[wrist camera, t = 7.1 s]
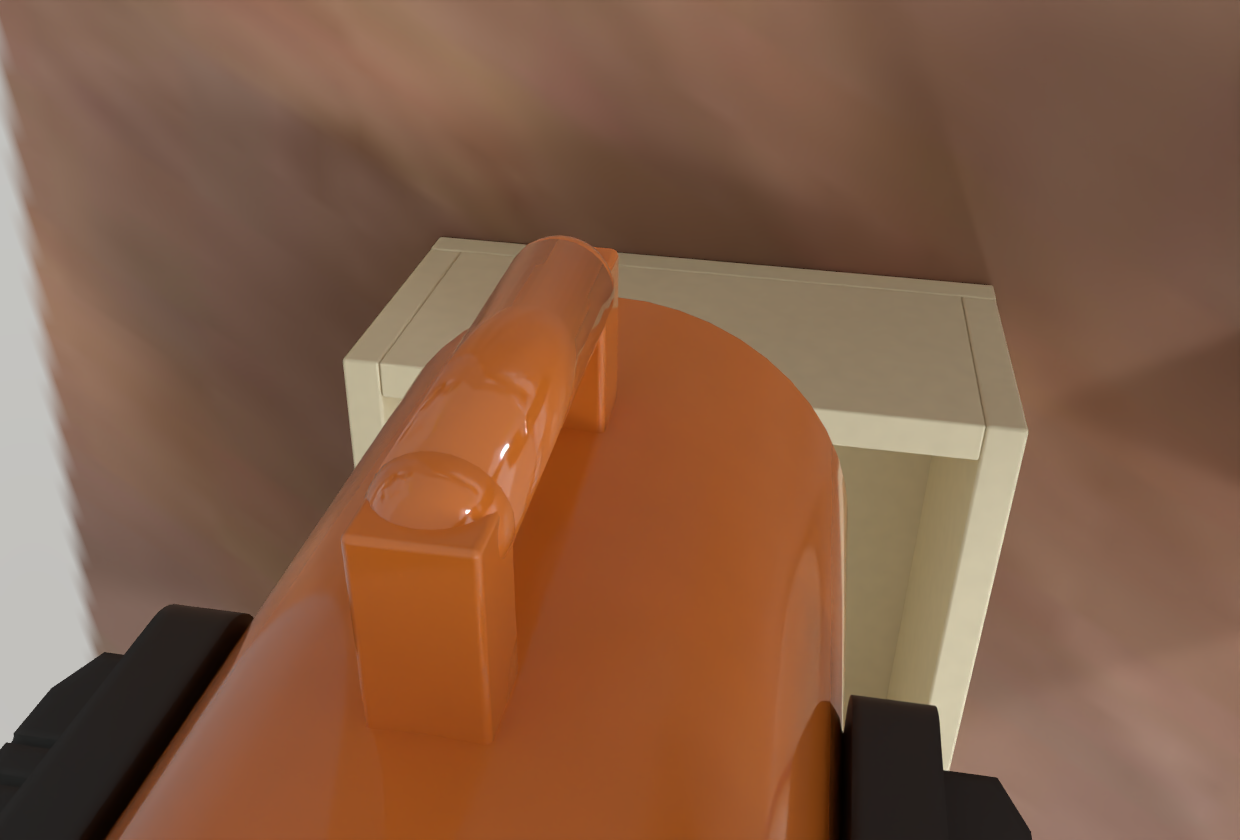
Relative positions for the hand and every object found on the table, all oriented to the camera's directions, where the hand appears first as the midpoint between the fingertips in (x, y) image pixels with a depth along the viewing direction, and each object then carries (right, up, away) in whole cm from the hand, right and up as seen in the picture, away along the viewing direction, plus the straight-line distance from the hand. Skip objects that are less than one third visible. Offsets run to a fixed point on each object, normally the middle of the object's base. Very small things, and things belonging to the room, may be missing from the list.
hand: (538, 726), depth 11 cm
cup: (+1, +2, +3) cm, 4 cm away
